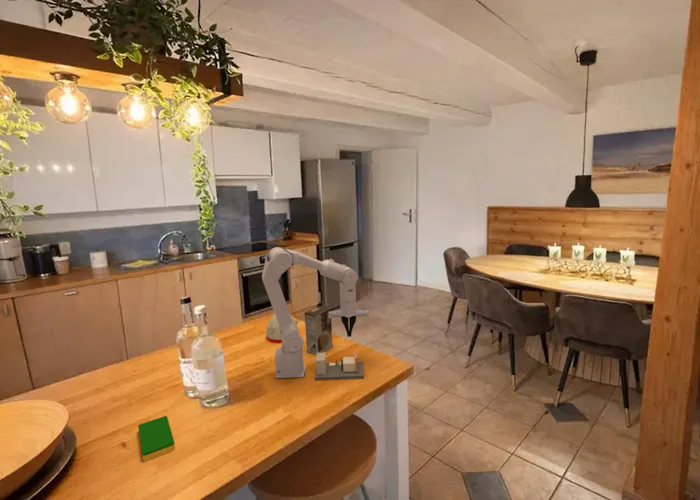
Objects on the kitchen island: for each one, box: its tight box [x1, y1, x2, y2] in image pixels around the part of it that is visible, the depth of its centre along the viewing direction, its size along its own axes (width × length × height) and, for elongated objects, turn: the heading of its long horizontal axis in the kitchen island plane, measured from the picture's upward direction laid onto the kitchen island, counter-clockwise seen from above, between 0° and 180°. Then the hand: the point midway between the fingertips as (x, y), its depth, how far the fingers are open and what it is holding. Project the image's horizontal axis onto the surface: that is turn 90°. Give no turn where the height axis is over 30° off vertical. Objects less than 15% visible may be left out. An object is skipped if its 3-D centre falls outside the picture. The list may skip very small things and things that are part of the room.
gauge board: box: [314, 351, 365, 381], centre depth 129 cm, size 16×10×6 cm, turn 91°
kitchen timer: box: [265, 313, 300, 344], centre depth 160 cm, size 14×14×15 cm
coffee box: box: [304, 305, 334, 355], centre depth 146 cm, size 9×6×16 cm
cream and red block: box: [340, 349, 358, 372], centre depth 129 cm, size 6×8×5 cm
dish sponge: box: [137, 415, 176, 462], centre depth 97 cm, size 7×14×2 cm, turn 33°
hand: (349, 335), depth 136 cm, fingers closed
